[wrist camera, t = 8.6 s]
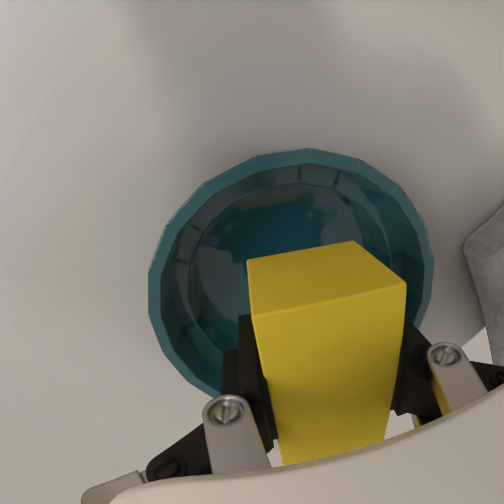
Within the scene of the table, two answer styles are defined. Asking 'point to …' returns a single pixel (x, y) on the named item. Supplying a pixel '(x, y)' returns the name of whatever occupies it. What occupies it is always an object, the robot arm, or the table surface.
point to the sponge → (327, 346)
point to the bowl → (272, 245)
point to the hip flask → (489, 278)
